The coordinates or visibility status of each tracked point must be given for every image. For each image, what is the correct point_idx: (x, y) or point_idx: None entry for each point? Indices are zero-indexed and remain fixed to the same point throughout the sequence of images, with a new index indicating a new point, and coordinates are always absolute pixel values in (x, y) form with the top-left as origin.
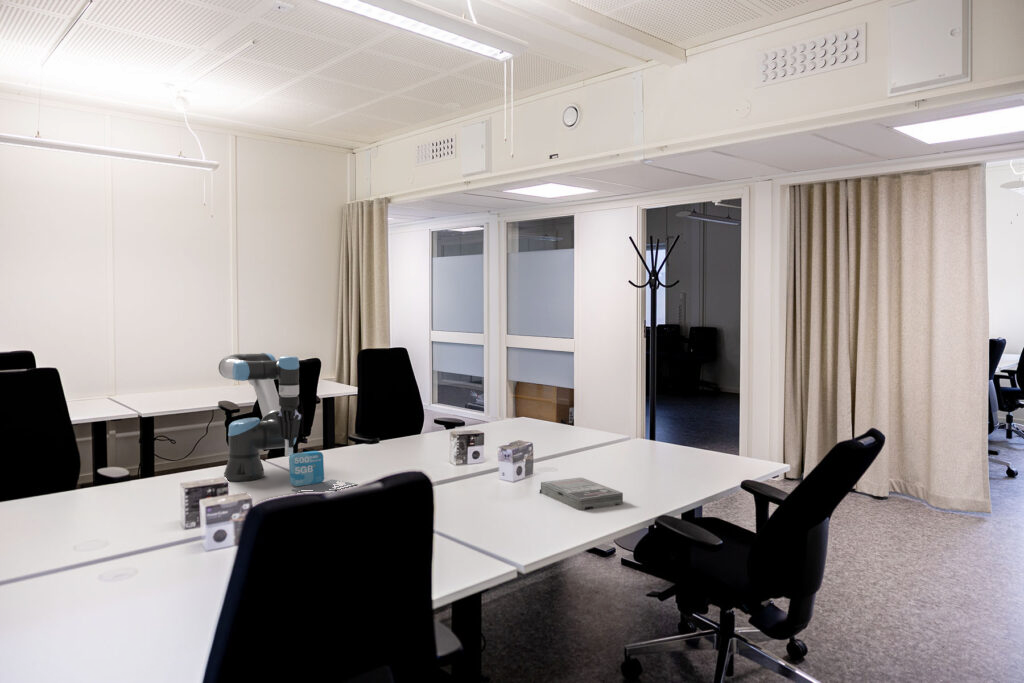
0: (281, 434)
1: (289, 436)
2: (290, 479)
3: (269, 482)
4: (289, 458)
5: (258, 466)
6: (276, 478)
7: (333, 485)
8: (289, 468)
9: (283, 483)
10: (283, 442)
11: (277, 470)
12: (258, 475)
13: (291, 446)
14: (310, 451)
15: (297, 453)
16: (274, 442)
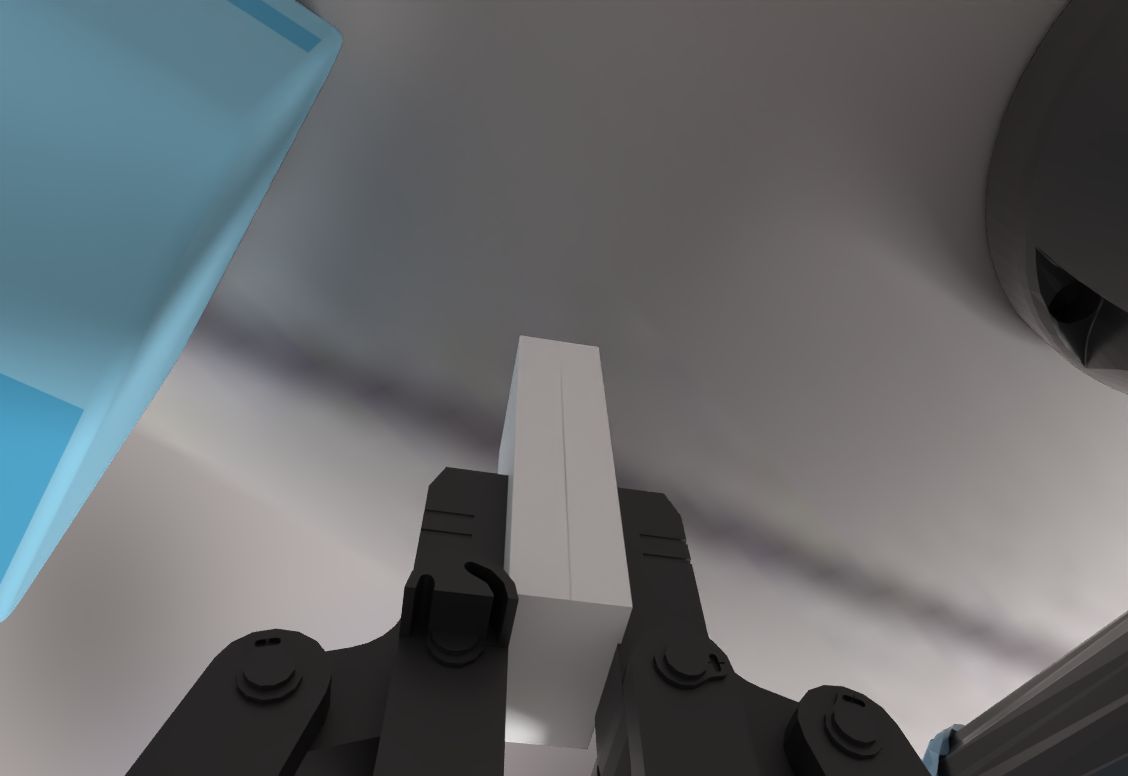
0: (854, 764)
1: (407, 691)
2: (297, 11)
3: (739, 41)
4: (207, 90)
5: (1116, 220)
6: (786, 266)
7: None
8: (295, 65)
9: (514, 76)
10: (967, 770)
11: (993, 549)
12: (1022, 144)
13: (427, 500)
14: (22, 533)
15: (54, 263)
16: (1124, 676)
